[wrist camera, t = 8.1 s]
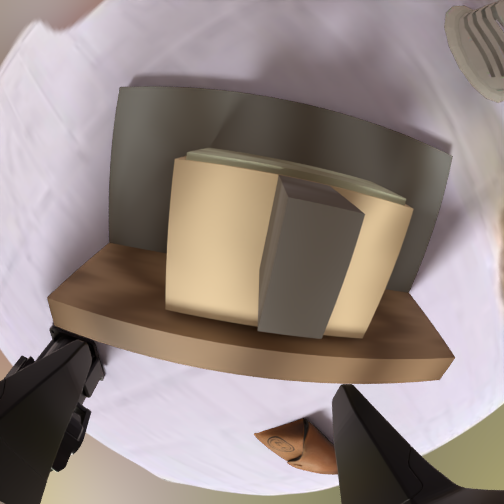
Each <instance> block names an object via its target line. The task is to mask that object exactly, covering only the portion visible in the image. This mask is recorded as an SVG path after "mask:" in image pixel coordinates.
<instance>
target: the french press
mask: <svg viewBox="0 0 504 504" xmlns="http://www.w3.org/2000/svg"><path fill="white" fill-rule="evenodd" d="M495 20H498V21H499V22H500V24H501V25H502V26H503V27H504V0H501V1H498V2H495V3H492V4H489V5H487V6H484V7H481V8H479V9H476V10H472V9H470V8H468V7H466V6H453V7H452V8H451V9H450V10H449V11H448V12H447V13H446V17H445V26H444V28H445V32H446V36H447V40H448V44H449V48H450V50H451V52H452V54H453V56H454V58H455V60H456V62H457V64H458V66H459V68H460V70H461V71H462V72H463V74H464V75H465V77H466V78H467V79H468V81H469V82H470V84H471V85H472V86H473V87H474V88H475V89H476V90H477V91H478V92H480V93H481V94H482V95H483V96H484V97H485V98H486V99H489V100H492V101H495V102H497V103H499V102H502V101H504V32H503V31H502V29H501V28H500V26H499V25H498V24H497V22H496V21H495Z"/></svg>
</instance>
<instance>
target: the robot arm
mask: <svg viewBox="0 0 504 504" xmlns="http://www.w3.org/2000/svg"><path fill="white" fill-rule="evenodd" d="M50 333H51V336H52V340H51V342H50V343H49V344H48V345H47V347H46V348H45V349H44V351H43V352H42V353H41V354H40V356H39V357H38V358H37V360H36V361H34V359H33V358H32V357H31V356H30V357H29V358H28V359H27V358H26V357H24V356H21V357H20V359H19V360H18V361H17V362H16V364H15V365H14V366H13V367H12V369H11V370H10V372H9V373H8V374H7V375H6V377H5V378H4V379H3V380H2V381H0V504H40V503H41V499H42V496H43V492H44V489H45V486H46V483H47V479H48V476H49V473H50V472H51V471H53V470H55V471H56V472H59V471H61V470H62V469H64V468H65V467H66V465H67V462H68V459H69V457H70V455H73V454H74V453H75V452H76V451H77V450H78V449H79V447H80V446H81V444H82V442H83V439H84V436H85V432H86V429H87V425H88V421H89V418H90V414H91V411H90V410H89V409H88V408H87V409H86V408H85V407H84V406H83V405H82V404H83V402H84V400H85V398H86V397H88V398H89V397H91V395H92V393H93V391H94V389H95V388H96V386H97V384H98V382H99V380H101V381H103V379H104V374H103V371H102V367H101V364H100V360H99V357H98V353H97V349H96V345H95V343H94V342H93V341H91V340H89V339H86V338H83V337H80V336H77V335H75V334H72V333H69V332H67V331H64V330H61V329H59V328H56V327H54V326H51V328H50ZM332 414H333V440H334V448H335V455H336V462H337V469H338V477H339V485H340V493H341V502H342V504H504V490H481V489H470V488H464V487H461V486H458V485H456V484H455V483H453V482H452V481H451V480H449V479H448V478H447V477H445V476H444V475H443V474H442V473H440V472H439V471H438V470H436V469H435V468H434V467H433V466H432V465H431V464H429V463H428V462H427V461H426V460H425V459H424V458H422V456H421V455H420V454H419V453H418V452H417V451H416V450H415V449H414V448H413V447H411V445H410V444H409V443H408V442H407V441H406V440H405V439H404V438H403V437H402V436H401V435H400V434H399V433H398V432H397V431H396V430H395V429H394V428H393V427H392V425H391V424H390V423H389V422H388V421H387V420H386V419H385V418H384V417H383V416H382V415H381V414H380V413H379V412H378V411H377V410H376V409H375V408H374V407H373V406H372V404H371V403H370V402H369V401H368V400H367V399H366V398H365V397H364V396H363V395H362V394H361V393H360V392H359V391H358V390H357V389H356V387H355V386H354V385H352V384H342V385H341V386H340V387H339V389H338V391H337V392H336V394H335V396H334V398H333V400H332Z"/></svg>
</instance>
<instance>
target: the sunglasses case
mask: <svg viewBox="0 0 504 504" xmlns="http://www.w3.org/2000/svg"><path fill="white" fill-rule="evenodd" d="M254 435H255V436H256V437H257V439H258V440H259V441H261V442H262V443H263V444H264V445H265V446H266V447H268V448H269V449H270V450H272V451H273V452H274V453H276V454H277V455H279V456H280V457H281V458H283V459H285V460H286V461H288V462H287V463H288V464H290V465H291V466H293V467H295V468H298V469H302V470H306V471H310V472H315V473H320V474H332V475H334V474H338V469H337V462H336V455H335V448H334V445H333V444H332V443H331V442H330V441H329V440H328V439H327V438H326V437H325V436H324V435H323V434H322V433H321V432H320V431H319V430H318V429H317V428H316V427H315V426H314V425H313V424H312V423H311V422H309V421H307V420H306V419H304V418H303V419H300V420H297V421H294V422H291V423H288V424H284V425H281V426H278V427H275V428H271V429H268V430H265V431H262V432H259V433H254Z"/></svg>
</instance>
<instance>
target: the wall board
mask: <svg viewBox="0 0 504 504" xmlns="http://www.w3.org/2000/svg"><path fill="white" fill-rule="evenodd" d="M204 148H215V149H222V150H229V151H235V152H242V153H248V154H254V155H259V156H265V157H270V158H276V159H281V160H286V161H291V162H295V163H300V164H305V165H309V166H313V167H318V168H322V169H326V170H330V171H334V172H338V173H342V174H346V175H350V176H354V177H357V178H361V179H364V180H368V181H371V182H373V183H375V184H377V185H380V186H382V187H384V188H386V189H388V190H390V191H392V192H394V193H396V194H398V195H400V196H402V197H404V198H406V202H405V204H406V205H408V206H410V207H411V208H413V213H412V216H411V219H410V222H409V226H408V229H407V232H406V235H405V238H404V241H403V244H402V246H401V249H400V252H399V255H398V257H397V260H396V263H395V265H394V268H393V271H392V273H391V276H390V278H389V281H388V283H387V286H386V288H385V290H384V293H383V295H382V297H381V300H380V302H379V304H378V307H377V309H376V311H375V313H374V315H373V318H372V320H371V322H370V324H369V326H368V328H367V330H366V332H365V334H364V336H363V338H349V337H338V336H328V335H323V337H322V339H317V338H307V337H299V336H291V335H283V334H275V333H268V332H261V331H257V330H258V327H257V326H250V325H244V324H238V323H232V322H226V321H221V320H215V319H210V318H204V317H199V316H194V315H189V314H184V313H179V312H175V311H170V310H165V308H166V261H167V241H168V225H169V211H170V200H171V189H172V179H173V170H174V162H175V159H176V158H180V157H184V156H187V152H190V151H195V150H199V149H204ZM452 157H453V156H451V155H449V154H447V153H445V152H443V151H441V150H439V149H437V148H434V147H432V146H430V145H428V144H425V143H423V142H421V141H419V140H416V139H414V138H411V137H409V136H406V135H404V134H401V133H399V132H396V131H393V130H391V129H388V128H385V127H383V126H380V125H377V124H374V123H371V122H368V121H365V120H362V119H359V118H355V117H352V116H349V115H345V114H342V113H338V112H335V111H331V110H327V109H324V108H320V107H316V106H311V105H307V104H303V103H298V102H294V101H289V100H284V99H279V98H273V97H267V96H262V95H255V94H249V93H241V92H233V91H225V90H215V89H204V88H189V87H159V86H144V87H120V89H119V95H118V101H117V107H116V114H115V122H114V130H113V140H112V150H111V164H110V182H109V243H108V244H107V245H106V246H105V247H104V248H102V249H101V250H100V251H99V252H98V253H96V254H95V255H94V256H93V257H92V258H90V259H89V260H88V261H87V262H86V263H85V264H83V265H82V266H81V267H80V268H79V269H78V270H77V271H75V272H74V273H73V274H72V275H71V276H70V277H69V278H68V279H66V280H65V281H64V282H63V283H62V284H61V285H60V286H59V287H58V288H57V289H56V290H55V291H53V292H52V293H51V294H50V295H49V296H48V297H47V299H48V303H49V307H50V311H51V315H52V318H53V322H54V325H55V326H57V327H59V328H62V329H64V330H67V331H70V332H72V333H75V334H78V335H81V336H83V337H86V338H89V339H92V340H95V341H98V342H101V343H104V344H107V345H111V346H114V347H117V348H121V349H124V350H127V351H131V352H134V353H138V354H142V355H146V356H149V357H153V358H157V359H161V360H166V361H170V362H174V363H179V364H183V365H188V366H193V367H198V368H203V369H208V370H214V371H220V372H226V373H232V374H239V375H246V376H253V377H261V378H269V379H279V380H289V381H302V382H317V383H342V384H382V383H406V382H421V381H432V380H440V378H441V377H442V376H443V374H444V373H445V372H446V370H447V369H448V367H449V366H450V365H451V363H452V362H453V360H454V359H455V356H454V355H453V353H452V352H451V350H450V349H449V347H448V346H447V344H446V343H445V341H444V340H443V338H442V337H441V336H440V334H439V333H438V331H437V330H436V329H435V327H434V326H433V324H432V323H431V322H430V320H429V319H428V317H427V316H426V315H425V313H424V312H423V311H422V309H421V308H420V307H419V305H418V304H417V303H416V301H415V300H414V299H413V298H412V296H411V295H410V294H409V291H410V289H411V287H412V284H413V282H414V279H415V277H416V275H417V272H418V270H419V267H420V265H421V262H422V260H423V257H424V254H425V252H426V249H427V246H428V243H429V240H430V238H431V235H432V232H433V229H434V226H435V222H436V219H437V216H438V213H439V209H440V206H441V202H442V199H443V195H444V191H445V188H446V184H447V179H448V175H449V171H450V166H451V162H452Z"/></svg>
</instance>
